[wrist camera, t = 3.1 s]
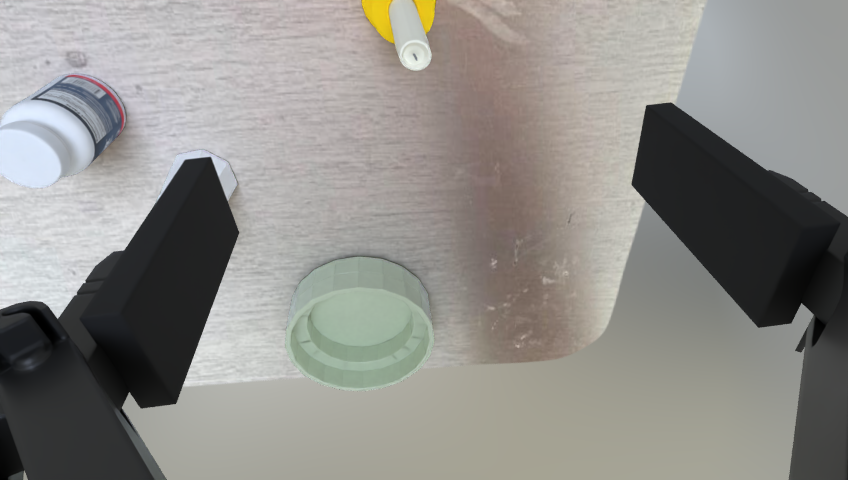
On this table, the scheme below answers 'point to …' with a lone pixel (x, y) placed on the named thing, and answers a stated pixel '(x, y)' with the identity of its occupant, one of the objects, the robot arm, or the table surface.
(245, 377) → the table surface
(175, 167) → the pepper shaker
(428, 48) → the candle
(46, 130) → the pill bottle
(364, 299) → the bowl
